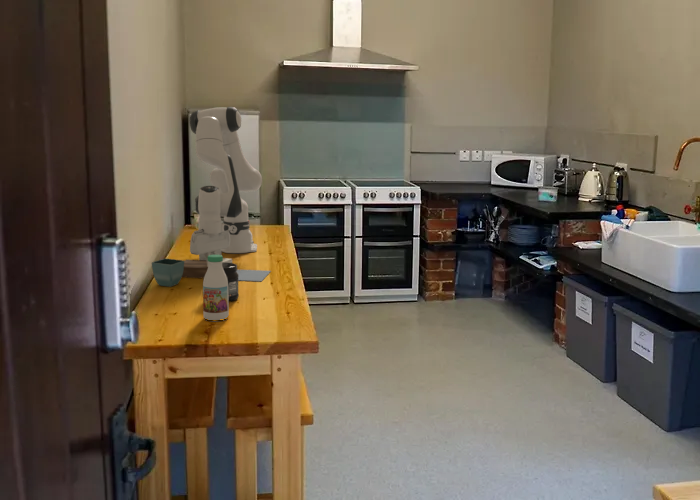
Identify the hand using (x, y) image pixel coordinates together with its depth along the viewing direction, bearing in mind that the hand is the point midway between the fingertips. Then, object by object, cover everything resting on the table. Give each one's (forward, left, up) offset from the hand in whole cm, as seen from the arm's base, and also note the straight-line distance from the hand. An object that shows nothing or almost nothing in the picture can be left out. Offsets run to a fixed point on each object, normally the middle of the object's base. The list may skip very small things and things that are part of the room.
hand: (210, 262), depth 272 cm
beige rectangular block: (+1, +4, -1) cm, 4 cm away
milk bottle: (+59, +19, -5) cm, 62 cm away
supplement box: (-17, -5, -5) cm, 19 cm away
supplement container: (+36, +15, -5) cm, 39 cm away
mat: (0, +15, -5) cm, 16 cm away
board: (0, -3, -5) cm, 6 cm away
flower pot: (+20, -10, -5) cm, 23 cm away
